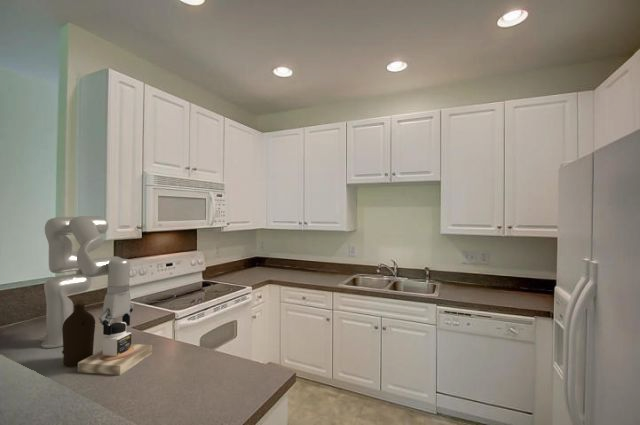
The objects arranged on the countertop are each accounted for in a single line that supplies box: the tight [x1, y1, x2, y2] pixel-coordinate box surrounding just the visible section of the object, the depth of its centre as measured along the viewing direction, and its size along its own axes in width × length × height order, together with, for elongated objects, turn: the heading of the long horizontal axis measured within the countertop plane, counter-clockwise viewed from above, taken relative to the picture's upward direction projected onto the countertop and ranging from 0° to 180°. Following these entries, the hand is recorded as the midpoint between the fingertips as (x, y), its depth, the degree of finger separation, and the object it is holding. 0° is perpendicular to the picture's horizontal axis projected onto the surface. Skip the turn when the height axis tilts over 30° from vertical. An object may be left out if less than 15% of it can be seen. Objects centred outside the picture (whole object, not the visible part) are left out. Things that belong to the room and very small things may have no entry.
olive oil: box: [61, 299, 96, 368], centre depth 122 cm, size 11×11×25 cm
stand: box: [77, 343, 153, 376], centre depth 122 cm, size 18×18×4 cm
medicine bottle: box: [102, 321, 132, 357], centre depth 122 cm, size 7×7×12 cm
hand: (117, 329), depth 122 cm, fingers open, 9 cm apart
